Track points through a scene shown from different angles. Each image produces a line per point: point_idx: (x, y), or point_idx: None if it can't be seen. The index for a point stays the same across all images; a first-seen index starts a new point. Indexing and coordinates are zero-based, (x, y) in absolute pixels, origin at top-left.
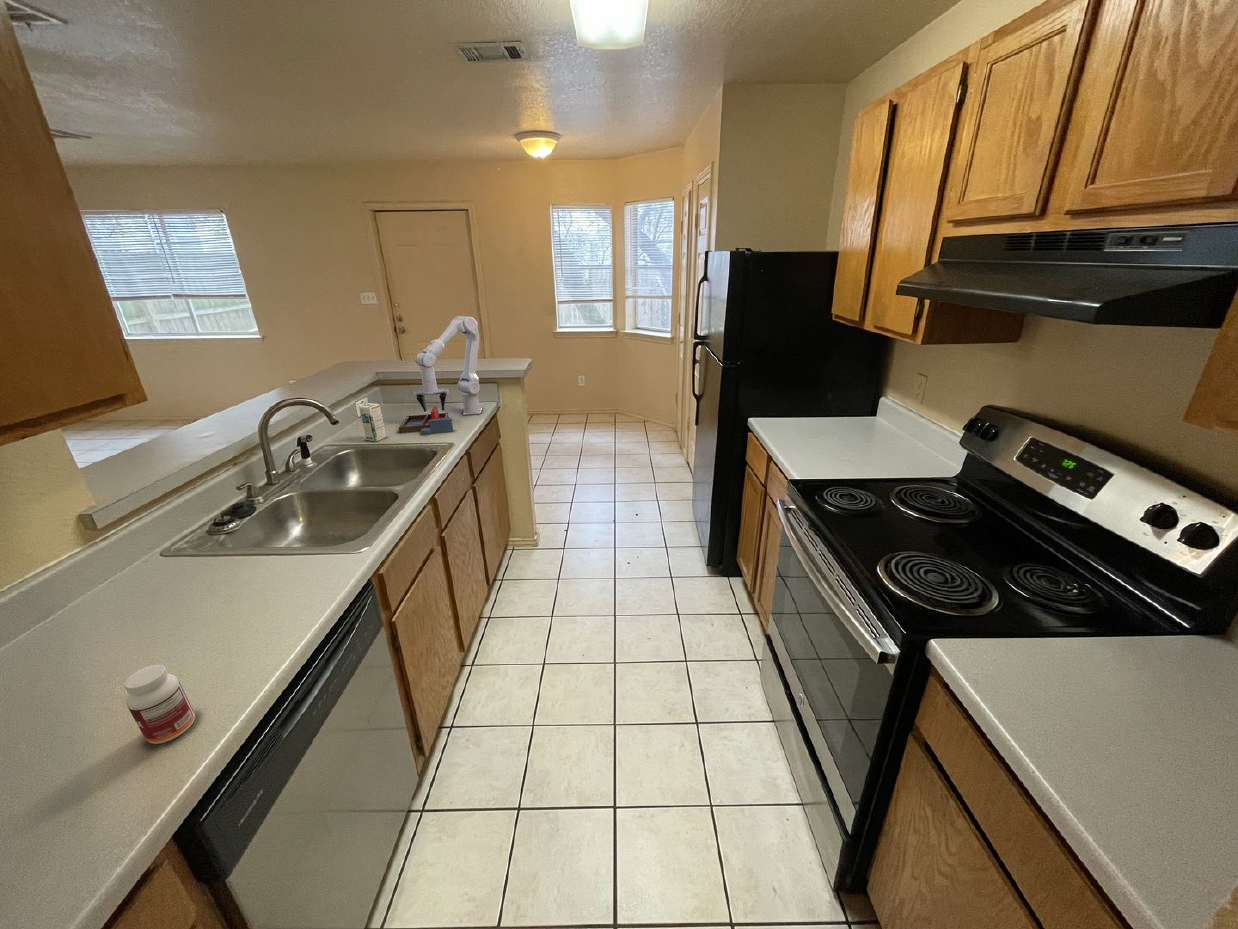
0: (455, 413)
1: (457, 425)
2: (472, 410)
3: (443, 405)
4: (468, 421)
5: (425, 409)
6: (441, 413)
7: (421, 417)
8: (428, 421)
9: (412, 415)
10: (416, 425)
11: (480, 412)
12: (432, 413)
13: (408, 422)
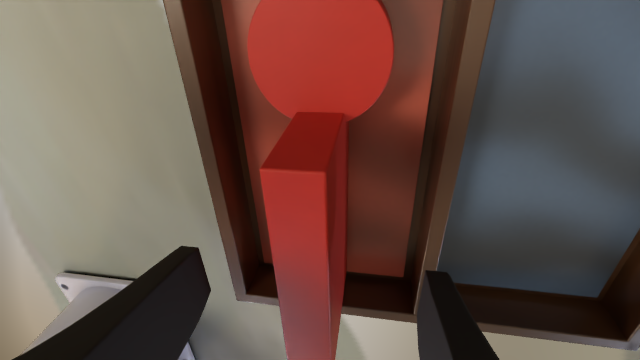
0: (236, 332)
1: (77, 16)
2: (84, 303)
3: (115, 295)
4: (43, 126)
5: (429, 302)
6: None
7: (479, 302)
8: (387, 59)
9: (578, 343)
10: (557, 91)
11: (63, 287)
12: (303, 153)
13: (632, 235)
